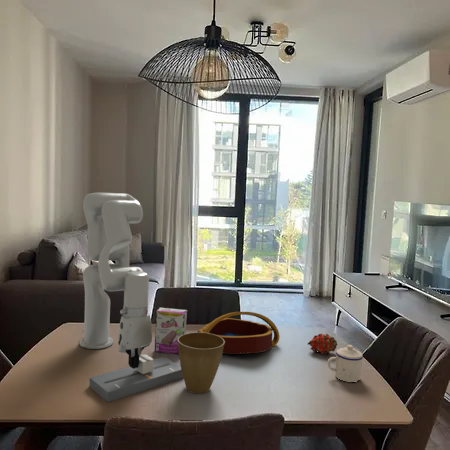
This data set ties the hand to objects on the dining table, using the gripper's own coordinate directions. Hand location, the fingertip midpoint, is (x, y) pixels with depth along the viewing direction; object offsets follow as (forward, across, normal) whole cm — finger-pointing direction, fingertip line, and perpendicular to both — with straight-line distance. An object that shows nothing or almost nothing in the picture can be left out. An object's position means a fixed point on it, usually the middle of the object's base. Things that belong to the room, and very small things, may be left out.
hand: (133, 366), depth 137 cm
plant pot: (+6, +15, -15) cm, 22 cm away
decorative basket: (+6, +51, +3) cm, 52 cm away
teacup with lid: (+6, +61, -39) cm, 73 cm away
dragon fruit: (+6, +74, -21) cm, 77 cm away
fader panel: (+6, +2, 0) cm, 6 cm away
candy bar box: (+6, +25, +15) cm, 30 cm away
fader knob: (+2, +4, 0) cm, 4 cm away
